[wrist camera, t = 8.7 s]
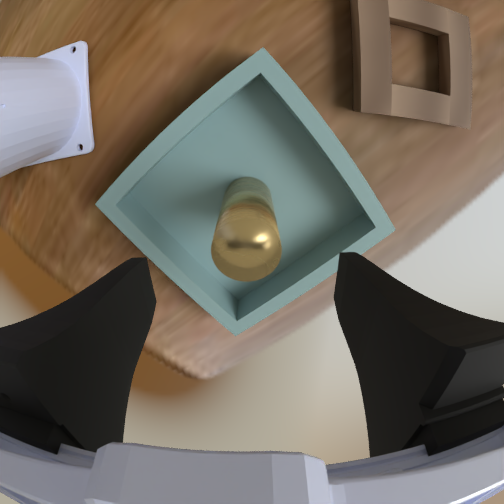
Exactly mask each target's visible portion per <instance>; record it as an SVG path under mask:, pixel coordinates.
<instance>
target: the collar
mask: <svg viewBox="0 0 504 504" xmlns="http://www.w3.org/2000/svg"><path fill="white" fill-rule="evenodd" d="M350 9H351V25H352V47H353V111H357V112H364V113H374V114H383V115H391V116H399V117H406V118H413V119H419V120H425V121H431V122H436V123H442V124H447V125H452V126H457V127H461V128H466V129H470V128H471V112H472V54H471V38H470V27H469V18H468V17H467V16H465V15H462V14H460V13H457V12H455V11H452V10H450V9H447V8H444V7H442V6H439V5H436V4H433V3H430V2H427V1H424V0H350ZM390 24H394V25H399V26H403V27H407V28H411V29H415V30H418V31H422V32H426V33H429V34H432V35H436V36H437V38H438V59H439V93H436V92H431V91H427V90H422V89H417V88H412V87H407V86H401V85H395V84H392V56H391V33H390Z"/></svg>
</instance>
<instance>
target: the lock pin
mask: <svg viewBox="0 0 504 504" xmlns="http://www.w3.org/2000/svg"><path fill="white" fill-rule="evenodd" d="M281 255H282V246H281V241H280V236H279V231H278V226H277V221H276V216H275V211H274V206H273V201H272V197H271V193H270V190H269V188H268V187H267V185H266V184H265V183H264V182H262V181H261V180H259V179H257V178H254V177H241V178H238V179H236V180H234V181H233V182H232V183H231V184H230V185H229V186H228V187H227V189H226V191H225V193H224V197H223V201H222V205H221V209H220V213H219V216H218V220H217V224H216V228H215V232H214V236H213V240H212V245H211V256H212V259H213V262H214V264H215V266H216V267H217V268H218V270H219V271H220V272H221V273H223V274H224V275H225V276H227V277H229V278H231V279H234V280H237V281H243V282H251V281H256V280H260V279H262V278H264V277H266V276H268V275H269V274H270V273H272V272H273V271H274V270H275V268H276V267H277V265H278V264H279V262H280V259H281Z"/></svg>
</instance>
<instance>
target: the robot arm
mask: <svg viewBox="0 0 504 504" xmlns="http://www.w3.org/2000/svg"><path fill="white" fill-rule="evenodd" d="M74 47H76V51H75V52H74V53H73V52H72V51H73V49H74ZM80 144H82V145H83V150H81V149H80ZM93 149H94V137H93V129H92V119H91V108H90V95H89V78H88V46H87V43H86V42H84V41H78V42H75V43H73V44H70V45H67V46H64V47H61V48H59V49H56V50H54V51H51V52H48V53H46V54H44V55H41V56H39V57H36V58H32V57H0V177H3V176H5V175H7V174H9V173H11V172H13V171H15V170H17V169H19V168H22V167H26V166H30V165H34V164H38V163H42V162H47V161H51V160H56V159H61V158H66V157H71V156H76V155H81V154H87V153H89V152H91V151H92V150H93ZM334 301H335V306H336V311H337V314H338V319H339V322H340V325H341V327H342V330H343V333H344V336H345V338H346V341H347V344H348V347H349V349H350V352H351V355H352V358H353V360H354V363H355V366H356V370H357V373H358V377H359V382H360V387H361V391H362V396H363V403H364V409H365V415H366V422H367V430H368V438H369V450H370V458H366V459H360V460H355V461H349V462H343V463H336V464H329V465H325V463H324V461H323V460H321V459H319V458H317V457H314V456H310V455H307V454H304V453H301V452H282V451H252V452H251V451H250V452H234V451H231V452H230V451H204V450H188V449H176V448H167V447H157V446H150V445H143V444H137V443H123V434H124V425H125V416H126V409H127V403H128V397H129V392H130V387H131V382H132V378H133V374H134V371H135V367H136V365H137V362H138V359H139V356H140V354H141V351H142V348H143V345H144V343H145V340H146V337H147V335H148V332H149V329H150V326H151V324H152V320H153V315H154V311H155V306H156V298H155V293H154V289H153V285H152V280H151V276H150V272H149V267H148V262H147V258H131V259H129V260H127V261H125V262H124V263H122V264H121V265H119V266H118V267H116V268H115V269H113V270H112V271H110V272H109V273H108V274H106V275H105V276H103V277H102V278H100V279H99V280H98V281H96V282H95V283H93V284H92V285H90V286H89V287H87V288H86V289H84V290H82V291H81V292H79V293H78V294H76V295H75V296H73V297H71V298H70V299H68V300H66V301H64V302H63V303H61V304H59V305H57V306H55V307H53V308H51V309H49V310H47V311H45V312H42V313H40V314H38V315H36V316H34V317H31V318H29V319H26V320H23V321H21V322H18V323H15V324H12V325H8V326H5V327H2V328H0V492H1V493H3V494H4V495H6V496H8V497H10V498H11V499H13V500H15V501H17V502H19V503H20V504H479V503H481V502H483V501H485V500H486V499H488V498H490V497H492V496H493V495H495V494H497V493H498V492H500V491H502V490H504V401H503V399H502V398H504V388H503V386H502V385H503V384H504V323H503V322H498V321H493V320H489V319H484V318H480V317H477V316H474V315H470V314H467V313H464V312H461V311H458V310H456V309H453V308H451V307H448V306H446V305H443V304H441V303H439V302H437V301H434V300H432V299H430V298H428V297H426V296H424V295H422V294H420V293H419V292H417V291H415V290H413V289H411V288H410V287H408V286H407V285H405V284H403V283H402V282H400V281H398V280H397V279H395V278H394V277H392V276H391V275H389V274H388V273H386V272H385V271H383V270H382V269H380V268H379V267H378V266H376V265H375V264H373V263H372V262H370V261H369V260H367V259H366V258H364V257H363V256H361V255H360V254H358V253H356V252H340V253H339V262H338V270H337V278H336V285H335V292H334Z"/></svg>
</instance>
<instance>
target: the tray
mask: <svg viewBox="0 0 504 504" xmlns="http://www.w3.org/2000/svg"><path fill="white" fill-rule="evenodd" d="M241 177H254V178H257V179H259V180H261V181H262V182H264V183H265V184H266V185H267V187H268V188H269V190H270V193H271V197H272V201H273V206H274V211H275V216H276V221H277V226H278V231H279V236H280V241H281V246H282V255H281V259H280V262H279V264H278V265H277V267H276V268H275V270H274V271H273V272H272V273H270V274H269V275H268V276H266V277H264V278H262V279H260V280H256V281H251V282H243V281H237V280H234V279H231V278H229V277H227V276H225V275H224V274H223V273H221V272H220V271H219V270H218V268H217V267H216V266H215V264H214V262H213V259H212V256H211V245H212V240H213V236H214V232H215V228H216V224H217V220H218V216H219V213H220V209H221V205H222V201H223V197H224V193H225V191H226V189H227V187H228V186H229V185H230V184H231V183H232V182H233V181H234V180H236V179H238V178H241ZM95 205H96V206H97V207H98V208H99V209H100V210H101V211H102V212H103V213H104V214H105V215H106V216H107V217H108V218H109V219H110V220H111V221H112V222H113V223H114V224H115V225H116V226H117V227H118V228H119V229H120V231H121V232H122V233H123V234H124V235H125V236H126V237H128V238H129V239H130V240H131V241H132V242H133V243H134V244H135V245H136V246H137V247H138V248H139V249H140V250H141V251H142V252H143V253H144V254H145V255H146V256H147V257H148V258H149V259H150V260H151V261H152V262H153V263H154V264H155V265H156V266H157V267H158V268H160V269H161V270H162V271H163V272H164V273H165V274H166V275H167V276H168V277H169V278H170V279H171V280H172V281H174V282H175V283H176V284H177V285H178V286H179V287H180V288H181V289H182V290H183V291H184V292H186V293H187V294H188V295H189V296H190V297H191V298H192V299H193V300H194V301H196V302H197V303H198V304H199V305H200V306H201V307H202V308H203V309H205V310H206V311H207V312H208V313H209V314H210V315H211V316H213V317H214V318H215V319H216V320H217V321H218V322H220V323H221V324H222V325H223V326H224V327H225V328H227V329H228V330H229V331H230V332H231V333H232V334H234V335H235V336H237V335H238V334H240V333H241V332H243V331H245V330H246V329H248V328H250V327H251V326H253V325H255V324H256V323H258V322H260V321H261V320H263V319H264V318H266V317H268V316H269V315H271V314H272V313H274V312H276V311H277V310H279V309H280V308H282V307H283V306H285V305H287V304H288V303H290V302H291V301H293V300H294V299H296V298H298V297H299V296H301V295H302V294H304V293H305V292H307V291H308V290H310V289H311V288H313V287H314V286H316V285H317V284H319V283H320V282H322V281H323V280H325V279H326V278H328V277H329V276H331V275H332V274H334V273H335V272H337V270H338V262H339V253H340V252H356V253H358V254H360V255H361V254H363V253H364V252H366V251H367V250H368V249H370V248H371V247H373V246H374V245H375V244H377V243H378V242H380V241H381V240H382V239H384V238H385V237H387V236H388V235H389V234H391V233H392V232H393V231H395V228H394V226H393V224H392V223H391V221H390V219H389V217H388V216H387V214H386V212H385V211H384V209H383V207H382V206H381V204H380V202H379V201H378V199H377V197H376V196H375V194H374V193H373V191H372V189H371V188H370V186H369V185H368V183H367V181H366V180H365V178H364V177H363V175H362V174H361V172H360V171H359V169H358V168H357V166H356V165H355V163H354V162H353V160H352V159H351V157H350V156H349V154H348V153H347V151H346V150H345V149H344V147H343V146H342V144H341V143H340V141H339V140H338V139H337V137H336V136H335V134H334V133H333V132H332V130H331V129H330V128H329V126H328V125H327V124H326V122H325V121H324V120H323V118H322V117H321V116H320V114H319V113H318V112H317V110H316V109H315V108H314V107H313V105H312V104H311V103H310V101H309V100H308V99H307V98H306V96H305V95H304V94H303V93H302V91H301V90H300V89H299V88H298V87H297V85H296V84H295V83H294V82H293V81H292V79H291V78H290V77H289V76H288V75H287V73H286V72H285V71H284V70H283V69H282V68H281V67H280V65H279V64H278V63H277V62H276V61H275V60H274V59H273V58H272V56H271V55H270V54H269V53H268V52H267V51H266V50H265V49H264V48H262V49H260V50H259V51H258V52H256V53H255V54H253V55H252V56H251V57H249V58H248V59H247V60H245V61H244V62H243V63H241V64H240V65H239V66H238V67H236V68H235V69H234V70H232V71H231V72H230V73H229V74H227V75H226V76H225V77H224V78H222V79H221V80H220V81H219V82H217V83H216V84H215V85H214V86H213V87H211V88H210V89H209V90H208V91H207V92H205V93H204V94H203V95H202V96H201V97H200V98H198V99H197V100H196V101H195V102H194V103H193V104H192V105H190V106H189V107H188V108H187V109H186V110H185V111H184V112H183V113H182V114H181V115H179V116H178V117H177V118H176V119H175V120H174V121H173V122H172V123H171V124H170V125H169V126H168V127H167V128H166V129H165V130H163V131H162V132H161V133H160V134H159V135H158V136H157V137H156V138H155V139H154V140H153V141H152V142H151V143H150V144H149V145H148V146H147V147H146V148H145V149H144V150H143V151H142V152H141V153H140V155H139V156H138V157H137V158H136V159H135V160H134V161H133V162H132V163H131V164H130V165H129V166H128V167H127V168H126V169H125V170H124V172H123V173H122V174H121V175H120V176H119V177H118V178H117V179H116V180H115V182H114V183H113V184H112V185H111V186H110V187H109V188H108V190H107V191H106V192H105V193H104V194H103V195H102V197H101V198H100V199H99V200H98V201H97V203H96V204H95Z"/></svg>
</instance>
